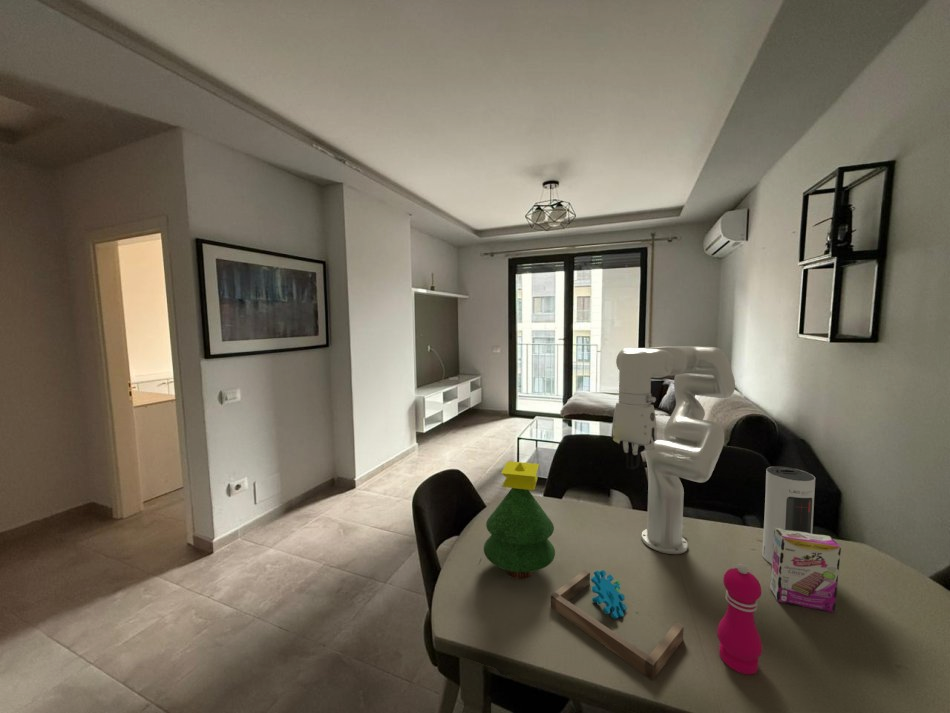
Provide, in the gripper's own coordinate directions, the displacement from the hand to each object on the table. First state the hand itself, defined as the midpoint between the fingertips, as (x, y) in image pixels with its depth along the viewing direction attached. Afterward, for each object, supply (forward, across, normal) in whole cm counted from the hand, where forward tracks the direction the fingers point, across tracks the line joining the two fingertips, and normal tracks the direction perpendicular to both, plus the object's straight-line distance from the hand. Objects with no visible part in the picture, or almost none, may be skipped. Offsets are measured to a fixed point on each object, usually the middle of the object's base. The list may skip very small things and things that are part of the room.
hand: (632, 467), depth 97 cm
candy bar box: (+29, -32, -21) cm, 48 cm away
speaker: (+29, -26, -37) cm, 54 cm away
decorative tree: (+29, +20, +22) cm, 42 cm away
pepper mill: (+29, -27, +9) cm, 41 cm away
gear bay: (+29, -6, +19) cm, 35 cm away
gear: (+29, -3, +16) cm, 33 cm away
